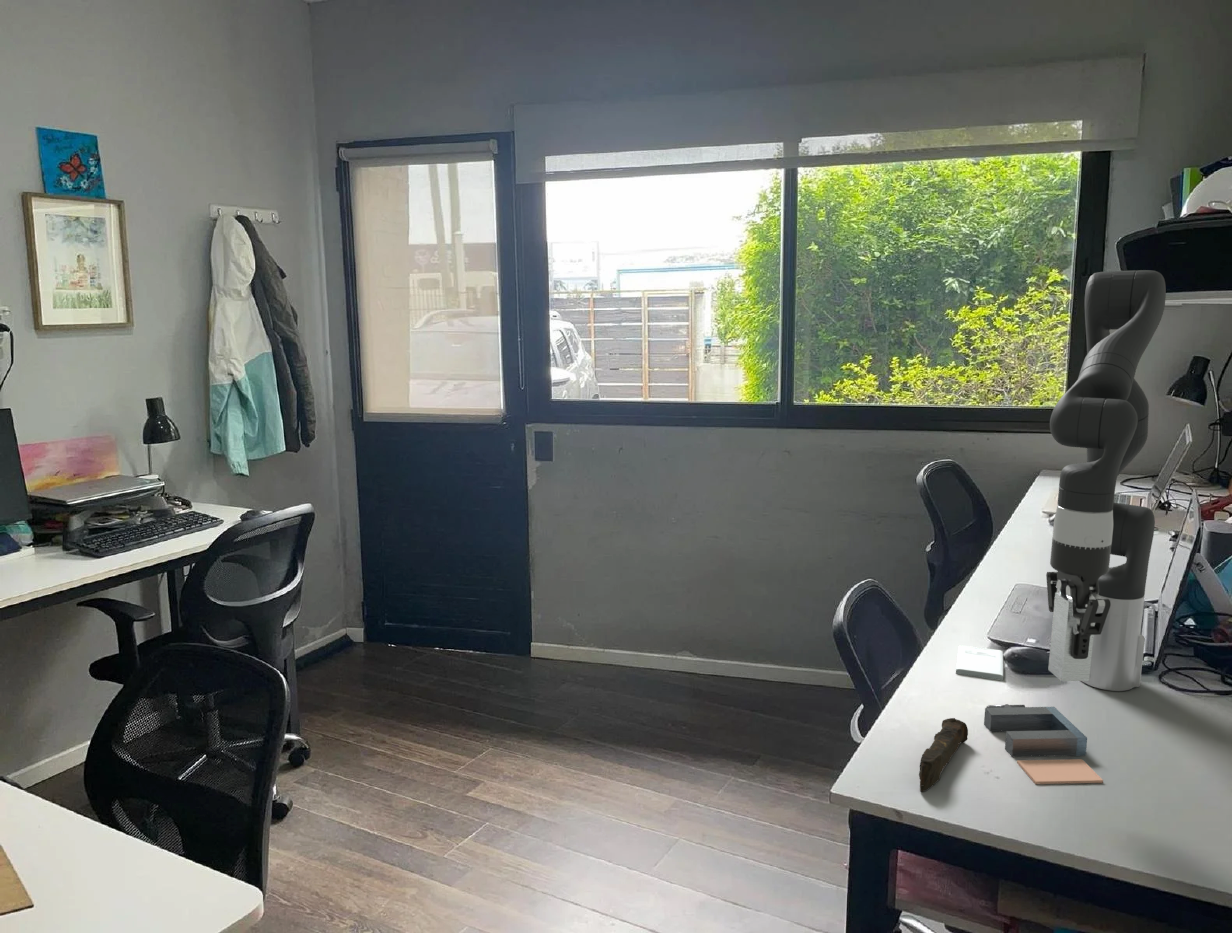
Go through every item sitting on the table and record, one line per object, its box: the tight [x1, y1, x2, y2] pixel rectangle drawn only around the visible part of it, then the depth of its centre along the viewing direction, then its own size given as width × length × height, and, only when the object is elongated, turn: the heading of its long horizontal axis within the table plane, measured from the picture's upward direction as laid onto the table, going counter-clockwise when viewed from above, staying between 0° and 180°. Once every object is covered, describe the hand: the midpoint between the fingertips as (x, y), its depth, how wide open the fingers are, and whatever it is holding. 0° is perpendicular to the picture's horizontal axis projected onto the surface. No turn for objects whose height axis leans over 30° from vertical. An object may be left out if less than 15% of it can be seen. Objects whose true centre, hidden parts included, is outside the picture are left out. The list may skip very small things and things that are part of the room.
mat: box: [1016, 758, 1104, 785], centre depth 137 cm, size 10×6×1 cm, turn 91°
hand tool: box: [918, 717, 969, 792], centre depth 140 cm, size 19×4×5 cm, turn 144°
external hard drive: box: [955, 645, 1004, 681], centre depth 176 cm, size 2×8×12 cm
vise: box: [983, 703, 1088, 758], centre depth 149 cm, size 12×14×3 cm
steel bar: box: [1048, 593, 1095, 682], centre depth 133 cm, size 4×4×12 cm
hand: (1070, 650), depth 134 cm, fingers closed on steel bar, 4 cm apart
